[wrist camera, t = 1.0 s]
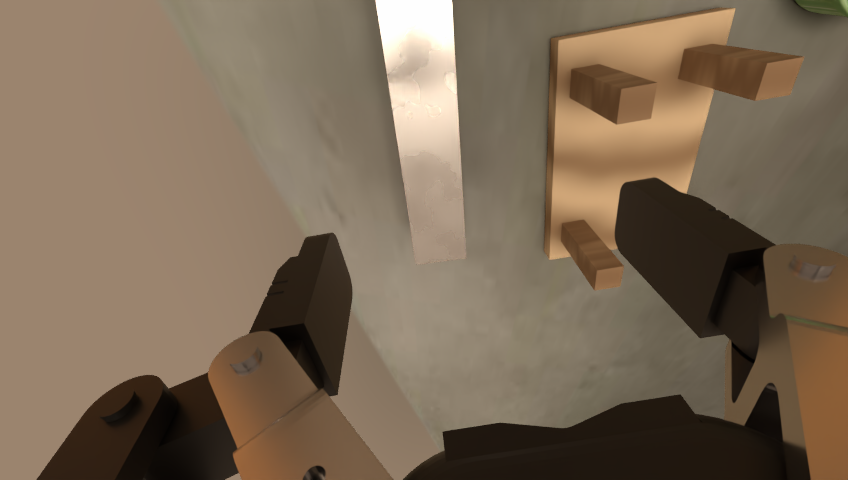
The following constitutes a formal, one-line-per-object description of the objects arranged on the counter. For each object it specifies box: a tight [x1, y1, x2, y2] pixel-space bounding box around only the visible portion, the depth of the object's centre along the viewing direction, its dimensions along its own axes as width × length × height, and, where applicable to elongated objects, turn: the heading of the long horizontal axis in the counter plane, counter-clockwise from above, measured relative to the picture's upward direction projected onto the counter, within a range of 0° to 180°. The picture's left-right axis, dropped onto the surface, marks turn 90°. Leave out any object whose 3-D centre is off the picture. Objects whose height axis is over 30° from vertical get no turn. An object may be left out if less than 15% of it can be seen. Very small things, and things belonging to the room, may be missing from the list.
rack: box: [544, 8, 804, 290], centre depth 28 cm, size 19×12×8 cm, turn 9°
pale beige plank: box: [376, 0, 466, 265], centre depth 27 cm, size 18×4×6 cm, turn 6°
